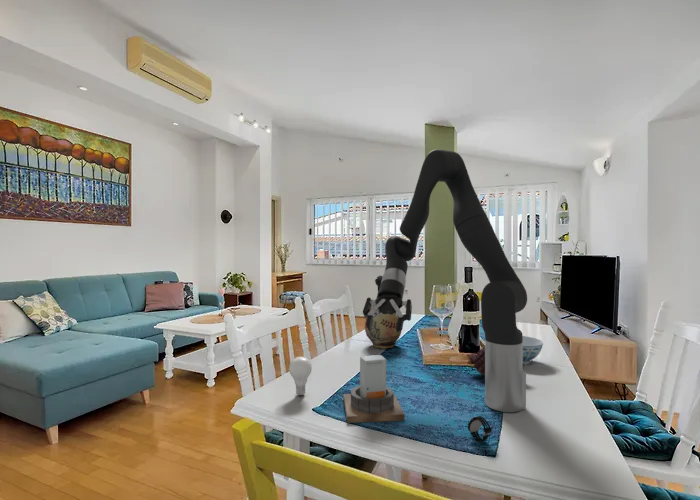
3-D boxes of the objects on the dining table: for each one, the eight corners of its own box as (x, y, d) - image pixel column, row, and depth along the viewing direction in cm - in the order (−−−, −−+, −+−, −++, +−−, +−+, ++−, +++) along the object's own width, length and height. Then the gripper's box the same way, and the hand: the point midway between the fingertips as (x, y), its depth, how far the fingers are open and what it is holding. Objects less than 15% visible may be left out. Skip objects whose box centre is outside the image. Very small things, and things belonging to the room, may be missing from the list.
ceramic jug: (364, 341, 170) (364, 273, 169) (399, 341, 169) (399, 273, 169) (364, 352, 153) (364, 276, 152) (403, 352, 152) (403, 276, 152)
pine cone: (525, 377, 123) (525, 346, 123) (520, 387, 114) (520, 354, 114) (469, 368, 132) (469, 339, 132) (461, 376, 124) (461, 345, 124)
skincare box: (364, 408, 97) (364, 360, 97) (359, 401, 101) (359, 356, 101) (386, 405, 99) (386, 358, 99) (381, 398, 103) (381, 354, 103)
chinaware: (498, 365, 135) (498, 343, 135) (497, 353, 149) (497, 334, 149) (546, 369, 130) (546, 347, 130) (539, 357, 144) (539, 336, 144)
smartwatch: (483, 434, 86) (483, 412, 86) (492, 446, 81) (492, 423, 81) (465, 435, 86) (465, 413, 86) (473, 447, 81) (473, 423, 81)
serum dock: (393, 397, 108) (393, 381, 108) (404, 420, 94) (404, 401, 94) (343, 399, 107) (343, 383, 106) (347, 422, 93) (347, 404, 92)
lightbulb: (284, 397, 108) (284, 358, 108) (298, 389, 114) (297, 352, 114) (303, 401, 105) (303, 361, 105) (316, 393, 111) (315, 355, 111)
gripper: (368, 277, 121) (356, 320, 110) (413, 278, 116) (405, 324, 105) (373, 292, 126) (362, 335, 115) (416, 294, 121) (409, 338, 110)
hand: (383, 329), depth 110 cm, fingers open, 8 cm apart
